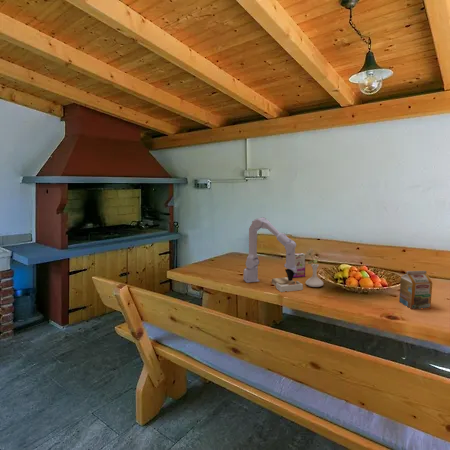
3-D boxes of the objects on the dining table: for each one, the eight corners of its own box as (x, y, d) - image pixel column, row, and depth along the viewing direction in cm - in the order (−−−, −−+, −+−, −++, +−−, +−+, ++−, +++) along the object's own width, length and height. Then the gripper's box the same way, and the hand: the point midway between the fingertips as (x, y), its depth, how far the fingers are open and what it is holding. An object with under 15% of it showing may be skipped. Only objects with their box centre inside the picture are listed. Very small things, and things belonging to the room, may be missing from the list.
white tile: (280, 284, 203) (280, 287, 203) (283, 287, 198) (283, 290, 199) (287, 284, 204) (287, 287, 204) (290, 286, 199) (290, 289, 200)
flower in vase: (316, 282, 216) (317, 245, 212) (327, 287, 205) (328, 248, 202) (299, 284, 211) (300, 247, 208) (310, 289, 201) (311, 250, 197)
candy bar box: (302, 275, 233) (302, 252, 230) (305, 277, 228) (305, 254, 226) (287, 276, 230) (288, 253, 228) (290, 278, 225) (291, 255, 223)
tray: (281, 292, 197) (281, 286, 197) (276, 288, 205) (276, 282, 204) (302, 289, 201) (302, 284, 200) (297, 286, 208) (297, 280, 208)
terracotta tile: (288, 283, 204) (288, 286, 205) (291, 286, 200) (291, 289, 200) (295, 283, 205) (295, 286, 206) (298, 285, 201) (298, 288, 201)
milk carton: (417, 301, 179) (420, 268, 176) (430, 308, 168) (433, 273, 166) (399, 301, 179) (401, 268, 176) (410, 309, 168) (413, 274, 166)
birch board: (277, 287, 206) (277, 283, 205) (271, 283, 215) (271, 278, 215) (294, 286, 208) (295, 281, 208) (288, 281, 218) (288, 277, 218)
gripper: (301, 262, 200) (301, 283, 201) (291, 256, 214) (291, 276, 215) (291, 262, 198) (290, 284, 200) (281, 257, 212) (281, 277, 214)
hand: (290, 280), depth 207 cm, fingers closed
